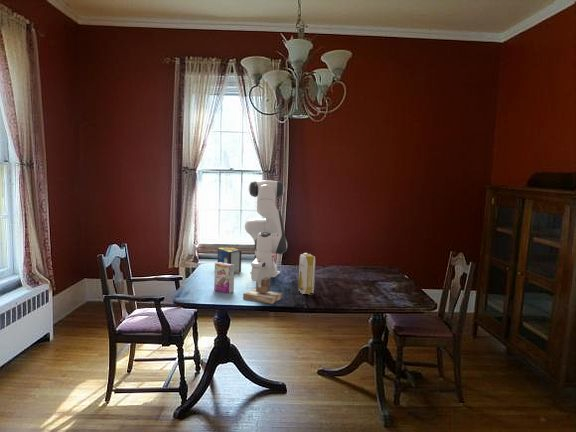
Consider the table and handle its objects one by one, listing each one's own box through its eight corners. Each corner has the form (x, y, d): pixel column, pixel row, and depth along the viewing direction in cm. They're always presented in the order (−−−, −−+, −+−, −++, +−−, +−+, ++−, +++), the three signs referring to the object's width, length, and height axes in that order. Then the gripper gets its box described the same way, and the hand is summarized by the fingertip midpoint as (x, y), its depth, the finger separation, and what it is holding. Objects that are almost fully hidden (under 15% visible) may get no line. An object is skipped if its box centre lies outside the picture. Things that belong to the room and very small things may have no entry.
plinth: (254, 293, 248) (254, 288, 248) (281, 298, 240) (281, 293, 240) (243, 298, 237) (243, 293, 237) (271, 304, 230) (271, 298, 229)
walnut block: (260, 289, 242) (260, 275, 241) (269, 291, 240) (270, 277, 239) (255, 291, 238) (256, 277, 237) (265, 293, 235) (265, 278, 234)
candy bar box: (213, 290, 251) (214, 263, 249) (219, 288, 255) (219, 261, 253) (228, 293, 245) (229, 265, 243) (234, 292, 250) (234, 264, 248)
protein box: (229, 267, 310) (230, 246, 308) (241, 272, 298) (241, 250, 297) (216, 269, 303) (217, 247, 302) (228, 274, 292) (228, 251, 290)
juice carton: (296, 291, 256) (298, 251, 254) (308, 290, 259) (310, 251, 257) (302, 295, 248) (304, 254, 245) (315, 294, 251) (317, 254, 248)
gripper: (267, 257, 247) (267, 281, 249) (249, 264, 229) (248, 289, 231) (277, 259, 245) (276, 282, 246) (259, 265, 226) (258, 291, 228)
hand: (262, 285), depth 238 cm, fingers closed on walnut block, 5 cm apart
